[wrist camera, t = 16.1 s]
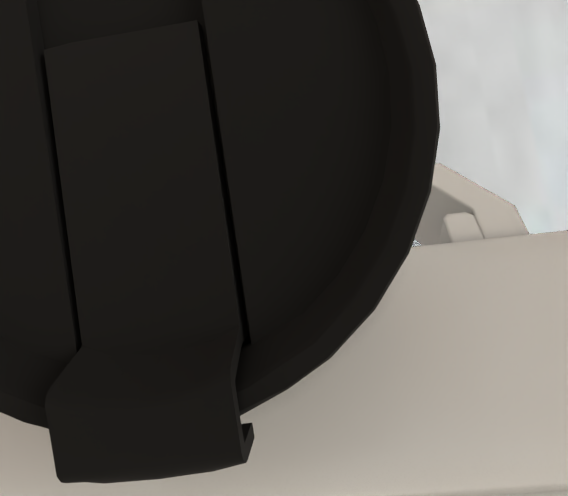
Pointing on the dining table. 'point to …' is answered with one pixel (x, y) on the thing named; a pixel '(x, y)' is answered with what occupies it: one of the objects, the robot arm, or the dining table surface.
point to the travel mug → (197, 212)
